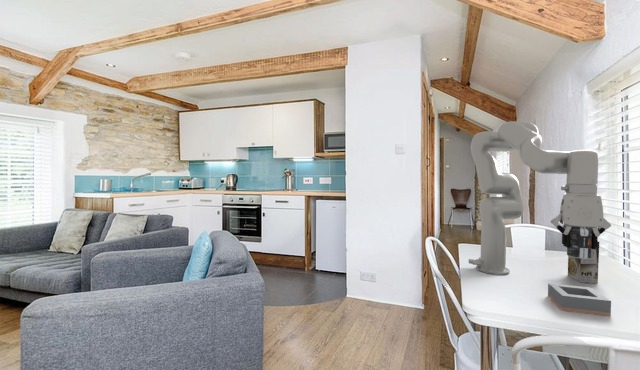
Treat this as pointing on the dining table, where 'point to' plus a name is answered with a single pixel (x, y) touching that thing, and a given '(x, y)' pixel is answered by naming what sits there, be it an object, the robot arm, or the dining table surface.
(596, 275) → the coffee box
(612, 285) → the dining table surface
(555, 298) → the grey square frame
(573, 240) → the pill bottle
